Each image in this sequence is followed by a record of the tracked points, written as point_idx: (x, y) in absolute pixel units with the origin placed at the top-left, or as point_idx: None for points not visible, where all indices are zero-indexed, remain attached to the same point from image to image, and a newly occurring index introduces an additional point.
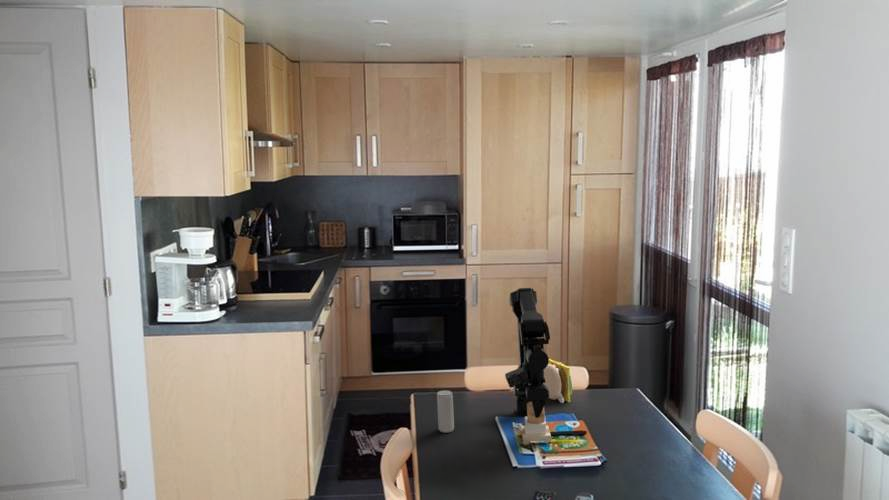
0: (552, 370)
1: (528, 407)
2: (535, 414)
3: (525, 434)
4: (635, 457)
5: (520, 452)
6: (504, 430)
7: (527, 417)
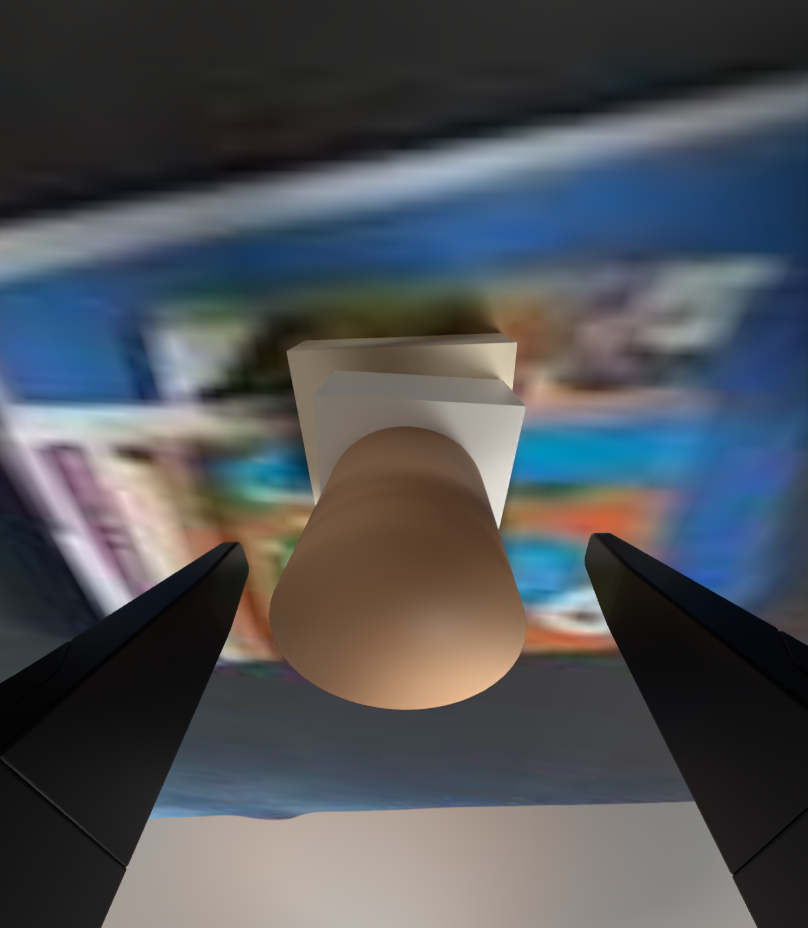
0: None
1: (321, 534)
2: (190, 571)
3: (328, 371)
4: (229, 728)
5: (159, 312)
6: (603, 173)
7: (494, 428)
